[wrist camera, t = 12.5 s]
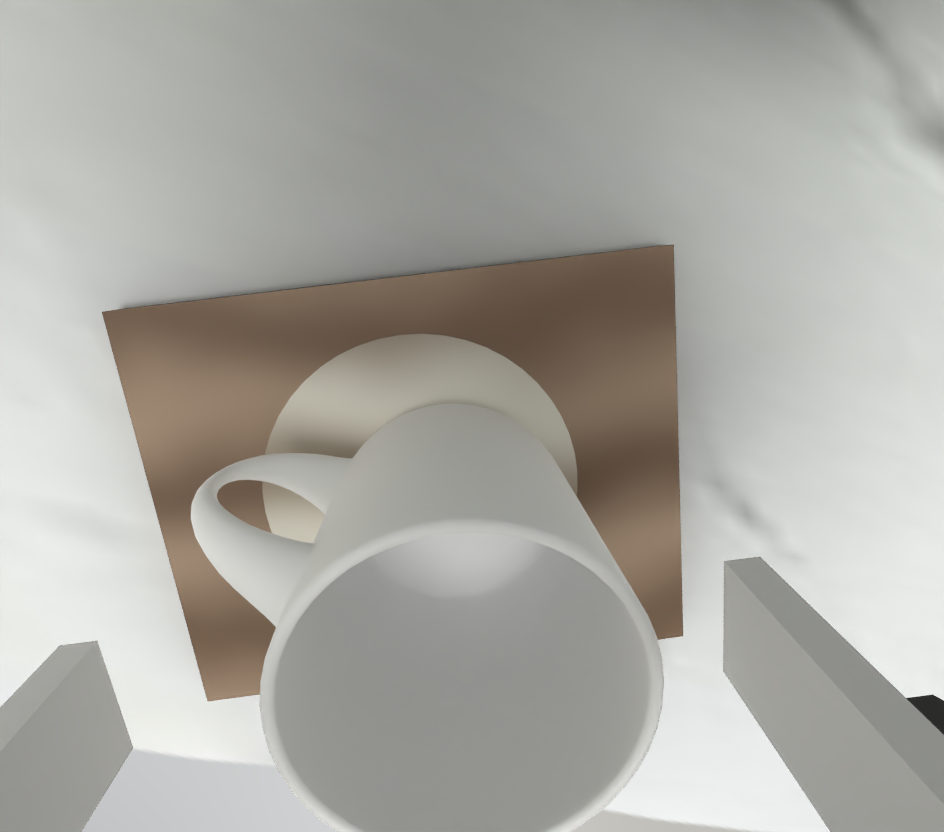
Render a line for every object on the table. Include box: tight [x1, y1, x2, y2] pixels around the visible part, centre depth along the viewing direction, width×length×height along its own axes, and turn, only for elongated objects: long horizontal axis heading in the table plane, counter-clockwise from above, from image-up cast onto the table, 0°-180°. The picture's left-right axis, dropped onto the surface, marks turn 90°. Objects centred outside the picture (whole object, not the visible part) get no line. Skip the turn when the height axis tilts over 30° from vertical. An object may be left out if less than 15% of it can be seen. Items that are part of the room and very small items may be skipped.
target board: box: [102, 245, 683, 701], centre depth 23 cm, size 16×20×1 cm
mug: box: [191, 403, 664, 832], centre depth 17 cm, size 9×12×11 cm
